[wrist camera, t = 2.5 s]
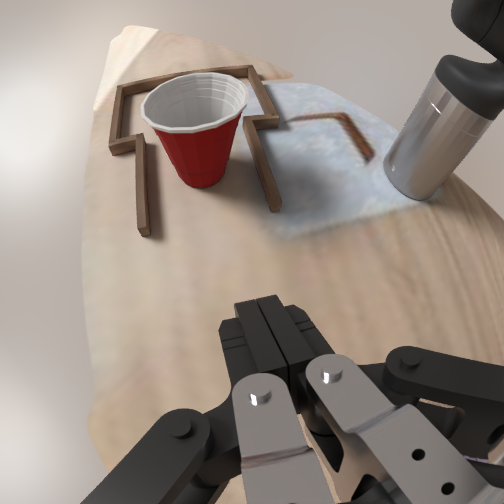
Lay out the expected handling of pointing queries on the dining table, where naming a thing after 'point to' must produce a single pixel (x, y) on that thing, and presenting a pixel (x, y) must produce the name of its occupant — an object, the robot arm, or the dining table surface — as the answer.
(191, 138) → the plastic cup
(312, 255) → the dining table surface
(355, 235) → the dining table surface
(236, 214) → the dining table surface
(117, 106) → the T fence
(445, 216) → the dining table surface
